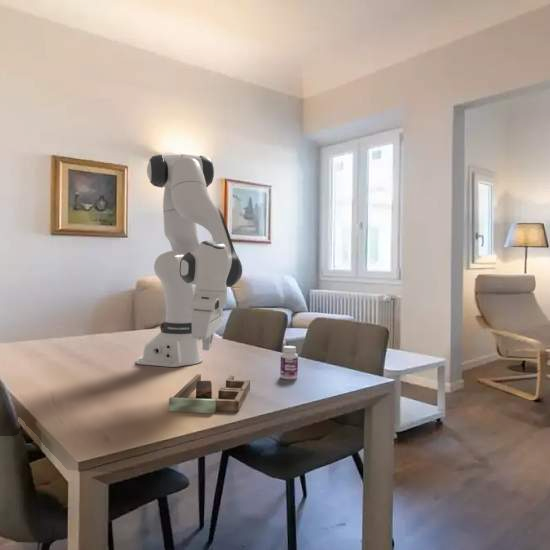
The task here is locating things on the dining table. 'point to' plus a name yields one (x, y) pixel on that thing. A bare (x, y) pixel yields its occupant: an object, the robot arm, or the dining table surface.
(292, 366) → the pill bottle
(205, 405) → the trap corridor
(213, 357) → the dining table surface
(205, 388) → the brick
